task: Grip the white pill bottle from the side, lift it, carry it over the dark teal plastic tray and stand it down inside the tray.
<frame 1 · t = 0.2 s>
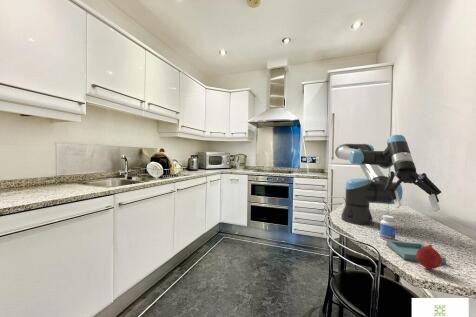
hand: (417, 208, 84), 15 cm above the counter, tool tilted 35°, fingers open, 13 cm apart
onion: (428, 270, 65), on the counter
pill bottle: (387, 239, 89), on the counter
tray: (413, 254, 75), on the counter
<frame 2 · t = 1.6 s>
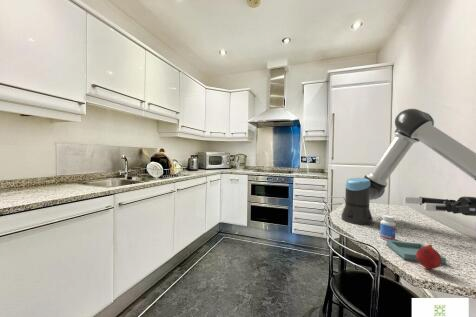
hand: (413, 203, 87), 16 cm above the counter, tool horizontal, fingers open, 13 cm apart
nothing on the counter moved.
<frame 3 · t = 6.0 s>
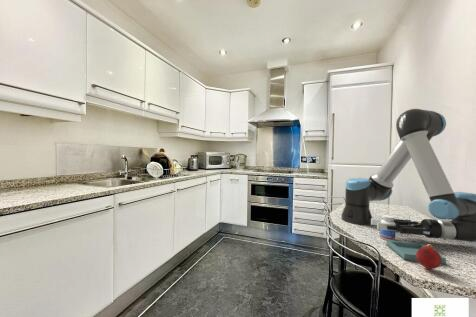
hand: (374, 223, 90), 6 cm above the counter, tool horizontal, fingers closed on pill bottle, 5 cm apart
pill bottle: (387, 239, 89), on the counter, touching gripper
everything else where it was.
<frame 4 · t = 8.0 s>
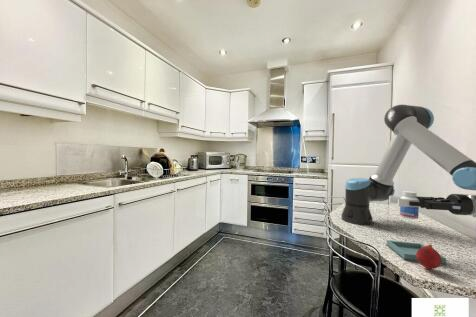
hand: (393, 200, 79), 19 cm above the counter, tool horizontal, fingers closed on pill bottle, 5 cm apart
pill bottle: (408, 217, 78), point 12 cm above the counter, touching gripper
everything else where it was.
when the fingers open (8 cm above the counter, at t = 10.5 s): pill bottle drops 1 cm, resting on tray.
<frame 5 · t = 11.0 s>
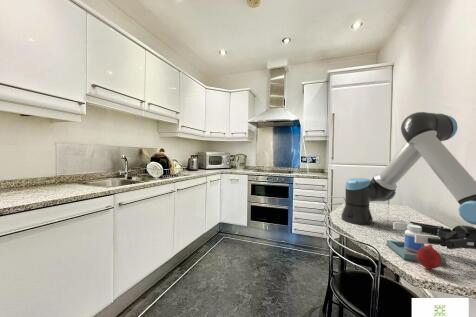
hand: (403, 231, 75), 8 cm above the counter, tool horizontal, fingers open, 13 cm apart
pill bottle: (413, 253, 75), resting on tray
everything else where it was.
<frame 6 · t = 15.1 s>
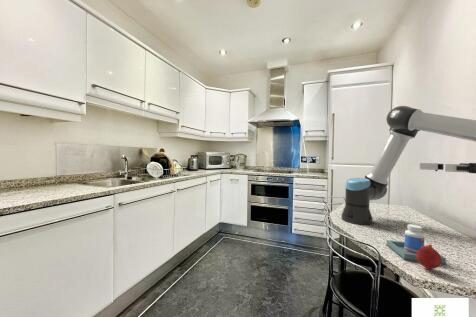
hand: (430, 166, 80), 32 cm above the counter, tool horizontal, fingers open, 13 cm apart
nothing on the counter moved.
at the end: pill bottle inside the target area on the tray (0.2 cm from its centre), point 0.4 cm above the tray's base; pill bottle tilted 0°; the gripper is holding nothing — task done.
